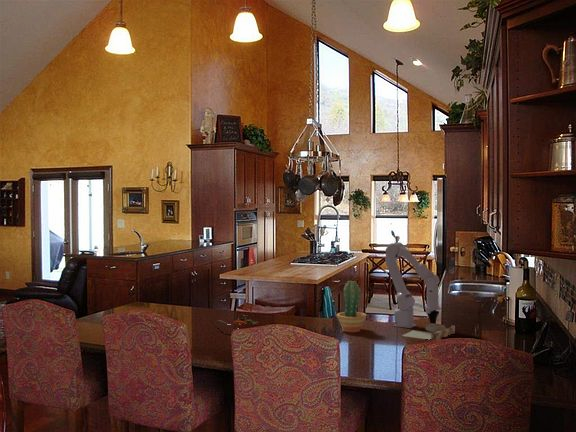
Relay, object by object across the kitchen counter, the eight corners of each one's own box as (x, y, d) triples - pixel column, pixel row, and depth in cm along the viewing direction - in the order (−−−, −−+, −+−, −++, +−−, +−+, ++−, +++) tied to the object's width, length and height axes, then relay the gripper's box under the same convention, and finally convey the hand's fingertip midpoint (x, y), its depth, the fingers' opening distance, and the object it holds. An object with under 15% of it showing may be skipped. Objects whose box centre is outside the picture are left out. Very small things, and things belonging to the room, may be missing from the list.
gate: (434, 341, 245) (434, 333, 245) (431, 340, 246) (431, 333, 246) (452, 334, 258) (452, 327, 258) (450, 333, 259) (450, 327, 259)
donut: (424, 329, 272) (425, 332, 262) (424, 322, 272) (425, 325, 263) (444, 330, 270) (446, 333, 260) (444, 323, 270) (446, 326, 261)
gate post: (450, 334, 259) (450, 325, 259) (451, 334, 261) (451, 325, 261) (454, 335, 258) (454, 326, 258) (455, 334, 260) (455, 325, 260)
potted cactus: (371, 328, 275) (371, 280, 275) (358, 334, 262) (357, 284, 262) (345, 325, 284) (344, 278, 283) (330, 331, 271) (330, 282, 271)
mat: (401, 336, 258) (401, 335, 258) (413, 330, 269) (413, 330, 269) (429, 340, 250) (429, 339, 250) (440, 334, 261) (440, 333, 261)
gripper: (435, 301, 264) (435, 329, 264) (445, 297, 276) (445, 323, 276) (421, 300, 268) (421, 327, 268) (431, 296, 280) (432, 322, 280)
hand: (432, 325), depth 272 cm, fingers closed, pressing on donut
